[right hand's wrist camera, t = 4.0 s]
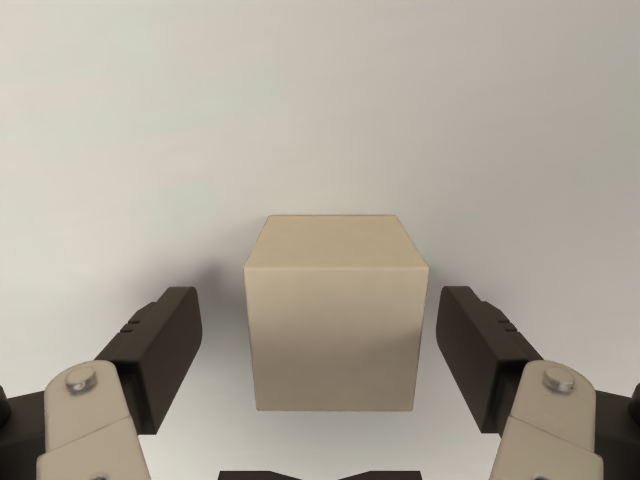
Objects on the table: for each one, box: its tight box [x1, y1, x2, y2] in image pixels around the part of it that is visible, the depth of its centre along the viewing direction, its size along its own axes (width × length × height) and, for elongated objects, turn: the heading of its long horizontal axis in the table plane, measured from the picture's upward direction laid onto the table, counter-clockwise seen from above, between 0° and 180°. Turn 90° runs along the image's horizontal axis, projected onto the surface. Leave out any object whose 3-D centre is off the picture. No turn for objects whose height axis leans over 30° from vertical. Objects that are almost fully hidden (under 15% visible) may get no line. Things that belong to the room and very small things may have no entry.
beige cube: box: [243, 215, 429, 411], centre depth 12 cm, size 5×5×5 cm
